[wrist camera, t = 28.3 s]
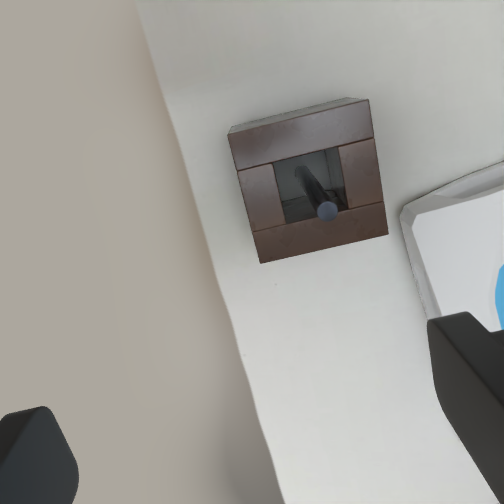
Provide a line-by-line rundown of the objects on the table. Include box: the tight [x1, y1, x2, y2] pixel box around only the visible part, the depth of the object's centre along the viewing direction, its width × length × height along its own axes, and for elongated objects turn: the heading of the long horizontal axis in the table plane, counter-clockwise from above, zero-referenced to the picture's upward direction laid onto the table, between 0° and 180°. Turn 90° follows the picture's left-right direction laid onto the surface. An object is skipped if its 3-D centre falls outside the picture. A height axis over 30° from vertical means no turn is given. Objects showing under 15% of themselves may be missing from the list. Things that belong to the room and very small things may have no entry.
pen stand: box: [228, 97, 389, 264], centre depth 36 cm, size 10×10×7 cm
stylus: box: [295, 165, 338, 222], centre depth 32 cm, size 1×1×14 cm
